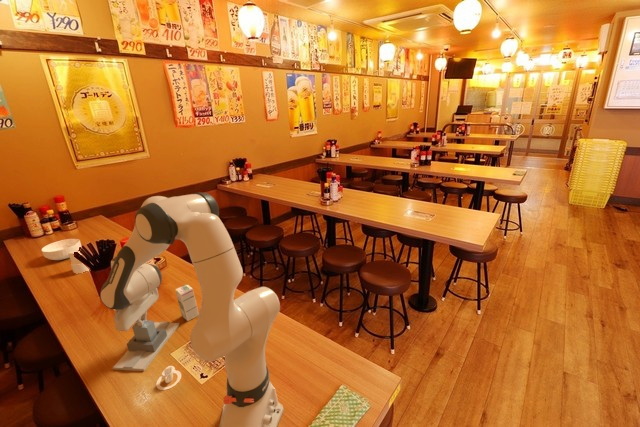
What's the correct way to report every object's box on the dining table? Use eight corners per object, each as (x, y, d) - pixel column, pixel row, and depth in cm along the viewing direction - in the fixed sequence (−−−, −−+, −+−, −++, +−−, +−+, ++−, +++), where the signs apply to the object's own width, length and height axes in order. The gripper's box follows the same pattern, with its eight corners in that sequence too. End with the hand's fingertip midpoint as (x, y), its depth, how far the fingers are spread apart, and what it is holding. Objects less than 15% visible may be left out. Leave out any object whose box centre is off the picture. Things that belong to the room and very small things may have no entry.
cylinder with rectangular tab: (69, 273, 177) (62, 255, 173) (83, 266, 185) (77, 248, 181) (82, 274, 175) (76, 256, 171) (95, 266, 184) (89, 249, 180)
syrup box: (199, 315, 136) (193, 287, 132) (186, 322, 132) (180, 294, 127) (193, 310, 140) (187, 283, 135) (181, 316, 136) (174, 289, 131)
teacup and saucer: (166, 368, 110) (164, 360, 108) (187, 370, 109) (185, 361, 107) (151, 390, 101) (148, 381, 100) (173, 391, 100) (170, 382, 99)
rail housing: (144, 371, 109) (141, 361, 107) (113, 369, 110) (109, 360, 108) (179, 324, 131) (177, 316, 129) (153, 324, 132) (150, 315, 131)
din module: (152, 346, 118) (146, 327, 114) (136, 345, 118) (130, 327, 115) (158, 338, 121) (153, 320, 118) (143, 338, 122) (137, 320, 119)
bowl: (90, 251, 205) (86, 239, 202) (60, 265, 187) (55, 253, 185) (69, 248, 211) (65, 237, 208) (38, 262, 193) (33, 250, 190)
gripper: (122, 311, 102) (132, 344, 107) (157, 278, 121) (165, 307, 126) (104, 311, 103) (115, 343, 107) (143, 278, 122) (151, 307, 126)
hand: (142, 323), depth 117 cm, fingers closed, pressing on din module
